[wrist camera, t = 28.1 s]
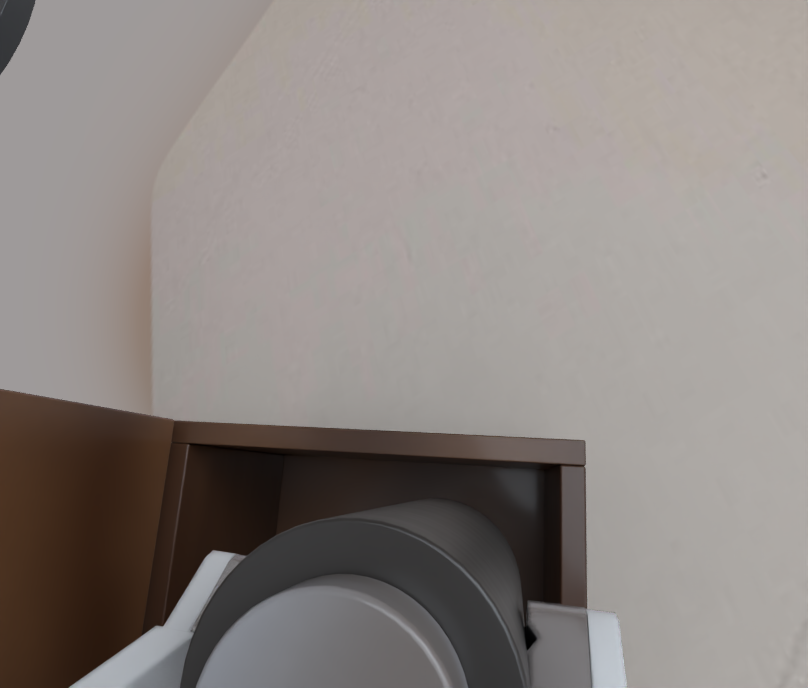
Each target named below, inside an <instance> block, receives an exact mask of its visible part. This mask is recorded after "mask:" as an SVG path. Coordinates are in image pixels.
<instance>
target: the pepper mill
mask: <svg viewBox="0 0 808 688" xmlns="http://www.w3.org/2000/svg"><path fill="white" fill-rule="evenodd" d="M180 688H530V679H529V668H528V657H527V645H526V637H525V623H524V612H523V600H522V589H521V579H520V574H519V568H518V565H517V562H516V558H515V556H514V554H513V551H512V549H511V547H510V545H509V543H508V542H507V540H506V538H505V537H504V535H503V534H502V533H501V532H500V530H499V529H498V528H497V527H496V526H495V525H494V524H493V523H492V522H491V521H490V520H489V519H488V518H487V517H486V516H484V515H483V514H482V513H480V512H479V511H477V510H475V509H474V508H472V507H470V506H468V505H465V504H463V503H460V502H457V501H453V500H448V499H441V498H429V499H422V500H416V501H411V502H406V503H401V504H396V505H391V506H386V507H381V508H376V509H371V510H365V511H360V512H355V513H350V514H345V515H340V516H335V517H330V518H325V519H320V520H316V521H312V522H309V523H305V524H302V525H298V526H296V527H293V528H291V529H289V530H287V531H284V532H282V533H280V534H278V535H276V536H274V537H273V538H271V539H269V540H268V541H266V542H265V543H263V544H261V545H260V546H258V547H257V548H256V549H255V550H254V551H252V552H251V553H250V554H249V555H247V556H246V557H245V558H244V559H243V560H242V561H241V562H240V563H239V564H238V565H237V566H236V567H235V568H234V569H233V570H232V571H231V572H230V573H229V574H228V575H227V577H226V578H225V579H224V581H223V582H222V583H221V585H220V586H219V587H218V589H217V590H216V591H215V593H214V594H213V596H212V598H211V599H210V601H209V603H208V604H207V606H206V608H205V610H204V611H203V613H202V615H201V618H200V620H199V622H198V624H197V627H196V629H195V631H194V634H193V636H192V639H191V642H190V645H189V649H188V652H187V655H186V658H185V663H184V668H183V673H182V678H181V684H180Z"/></svg>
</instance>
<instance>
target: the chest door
mask: <svg viewBox="0 0 808 688" xmlns="http://www.w3.org/2000/svg"><path fill="white" fill-rule="evenodd" d="M173 427H174V420H173V419H168V418H162V417H156V416H151V415H145V414H139V413H134V412H128V411H122V410H117V409H111V408H105V407H100V406H93V405H88V404H83V403H77V402H71V401H65V400H60V399H54V398H49V397H43V396H37V395H32V394H26V393H20V392H15V391H9V390H3V389H0V688H69V687H70V686H71V685H73V684H74V683H76V682H77V681H79V680H80V679H81V678H83V677H84V676H86V675H87V674H88V673H90V672H91V671H93V670H94V669H96V668H97V667H98V666H100V665H101V664H103V663H104V662H105V661H107V660H108V659H110V658H111V657H112V656H114V655H115V654H117V653H118V652H120V651H121V650H122V649H124V648H125V647H127V646H128V645H129V644H131V643H132V642H134V641H135V640H137V639H138V638H139V637H141V636H142V630H143V623H144V617H145V610H146V604H147V597H148V590H149V584H150V577H151V571H152V564H153V558H154V551H155V545H156V538H157V531H158V525H159V518H160V512H161V505H162V499H163V492H164V486H165V479H166V472H167V466H168V459H169V453H170V446H171V440H172V433H173Z"/></svg>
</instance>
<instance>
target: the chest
mask: <svg viewBox="0 0 808 688" xmlns="http://www.w3.org/2000/svg"><path fill="white" fill-rule="evenodd" d="M171 442H172V443H171V446H170V453H169V459H168V466H167V472H166V479H165V486H164V492H163V499H162V505H161V512H160V518H159V525H158V531H157V538H156V545H155V551H154V558H153V564H152V571H151V577H150V584H149V590H148V597H147V604H146V610H145V617H144V623H143V630H142V635H144V634H145V633H146V632H148V631H149V630H151V629H152V628H153V627H155V626H164V624H165V623H166V621H167V619H168V618H169V616H170V614H171V613H172V611H173V610H174V608H175V606H176V605H177V603H178V601H179V600H180V598H181V596H182V595H183V593H184V591H185V590H186V588H187V586H188V585H189V583H190V581H191V580H192V578H193V577H194V575H195V573H196V572H197V570H198V568H199V567H200V565H201V563H202V562H203V560H204V558H205V557H206V556H207V555H208V554H210V553H211V552H212V551H213V550H215V551H222V552H228V553H235V554H239V555H244V556H247V555H249V554H250V553H251V552H252V551H254V550H255V549H256V548H257V547H258V546H260V545H261V544H263V543H265V542H266V541H268V540H269V539H271V538H273V537H274V536H276V535H278V534H280V533H282V532H284V531H287V530H289V529H291V528H293V527H296V526H298V525H302V524H305V523H309V522H312V521H316V520H320V519H325V518H330V517H335V516H340V515H345V514H350V513H355V512H360V511H365V510H371V509H376V508H381V507H386V506H391V505H396V504H401V503H406V502H411V501H416V500H422V499H429V498H441V499H448V500H453V501H457V502H460V503H463V504H465V505H468V506H470V507H472V508H474V509H475V510H477V511H479V512H480V513H482V514H483V515H484V516H486V517H487V518H488V519H489V520H490V521H491V522H492V523H493V524H494V525H495V526H496V527H497V528H498V529H499V530H500V532H501V533H502V534H503V535H504V537H505V538H506V540H507V542H508V543H509V545H510V547H511V549H512V551H513V554H514V556H515V558H516V562H517V565H518V568H519V574H520V579H521V589H522V600H523V612H524V623H525V626H526V610H527V602H528V600H533V601H540V602H547V603H555V604H562V605H569V606H576V607H583V608H585V609H587V555H586V469H585V467H584V466H585V465H586V454H585V441H584V440H567V439H546V438H525V437H504V436H484V435H463V434H442V433H421V432H401V431H380V430H359V429H338V428H318V427H297V426H276V425H255V424H234V423H214V422H193V421H174V427H173V433H172V440H171Z"/></svg>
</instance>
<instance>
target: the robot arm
mask: <svg viewBox="0 0 808 688" xmlns="http://www.w3.org/2000/svg"><path fill="white" fill-rule="evenodd" d="M245 557H246V556H244V555H239V554H235V553H228V552H222V551H215V550H213V551H212V552H211V553H210V554H208V555H207V556H206V557H205V558H204V560H203V562H202V563H201V565H200V567H199V568H198V570H197V572H196V573H195V575H194V577H193V578H192V580H191V581H190V583H189V585H188V586H187V588H186V590H185V591H184V593H183V595H182V596H181V598H180V600H179V601H178V603H177V605H176V606H175V608H174V610H173V611H172V613H171V614H170V616H169V618H168V619H167V621H166V623H165V624H164V626H155V627H153V628H152V629H151V630H149V631H148V632H146V633H145V634H144V635H142V636H141V637H139V638H138V639H137V640H135V641H134V642H132V643H131V644H129V645H128V646H127V647H125V648H124V649H122V650H121V651H120V652H118V653H117V654H115V655H114V656H112V657H111V658H110V659H108V660H107V661H105V662H104V663H103V664H101V665H100V666H98V667H97V668H96V669H94V670H93V671H91V672H90V673H88V674H87V675H86V676H84V677H83V678H81V679H80V680H79V681H77V682H76V683H74V684H73V685H71V686H70V687H69V688H180V684H181V678H182V673H183V668H184V663H185V658H186V655H187V652H188V649H189V645H190V642H191V639H192V636H193V634H194V631H195V629H196V627H197V624H198V622H199V620H200V618H201V615H202V613H203V611H204V610H205V608H206V606H207V604H208V603H209V601H210V599H211V598H212V596H213V594H214V593H215V591H216V590H217V589H218V587H219V586H220V585H221V583H222V582H223V581H224V579H225V578H226V577H227V575H228V574H229V573H230V572H231V571H232V570H233V569H234V568H235V567H236V566H237V565H238V564H239V563H240V562H241V561H242V560H243V559H244V558H245ZM525 637H526V645H527V657H528V668H529V679H530V688H627V683H626V675H625V666H624V658H623V650H622V641H621V633H620V625H619V620H618V618H617V616H616V614H615V613H612V612H605V611H598V610H591V609H585V608H583V607H576V606H569V605H562V604H555V603H547V602H540V601H533V600H528V602H527V610H526V626H525Z"/></svg>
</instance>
